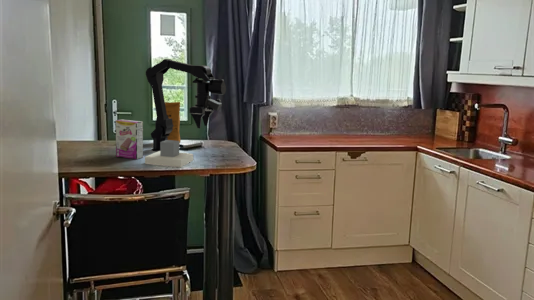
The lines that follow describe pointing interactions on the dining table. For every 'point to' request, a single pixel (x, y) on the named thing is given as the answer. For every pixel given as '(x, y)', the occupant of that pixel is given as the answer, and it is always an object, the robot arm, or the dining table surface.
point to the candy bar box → (129, 139)
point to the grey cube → (169, 148)
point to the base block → (169, 159)
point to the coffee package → (174, 119)
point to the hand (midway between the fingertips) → (202, 127)
